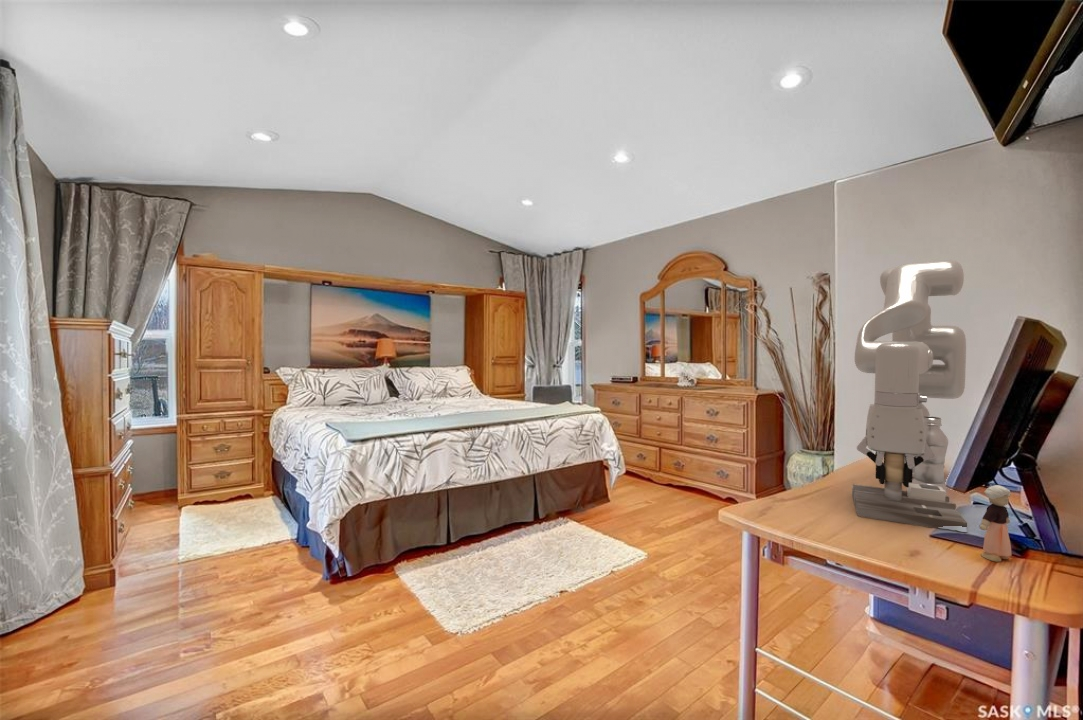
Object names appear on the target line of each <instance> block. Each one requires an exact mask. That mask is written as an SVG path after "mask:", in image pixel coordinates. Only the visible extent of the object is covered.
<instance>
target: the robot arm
mask: <svg viewBox="0 0 1083 720" xmlns="http://www.w3.org/2000/svg"><path fill="white" fill-rule="evenodd" d="M964 273H965V272H964V269H963V267H962V265H961V264H960V262H958V261H957V260H937V261H936V260H935V261H925V262H912V263H906V264H901V265H899V266H896V267H892V268H887V269H886V270H884V271H882V273H881V274H880V276H879V282H880V287H881V291H882V293H883V295H884V303H883V309H881V310H879V311H878V312H876V313H875V314H874V315H872V316H871V317H870V318H869V319H868V320H867V321H866V322H864V324H863V325H862V326H861V327H860V329H859V331H858V335H857V339H856V345H855V350H854V363H855V364H854V365H855V367H856V368H857V369H858V371H861V373H866V374H875V375H874V376H875V377H874V401H873V402H874V403H871V404H869V408H868V411H867V412H868V413H867V416H866V426H865V436H864V437H863V438H862V440H861V441H860V442H859V443H858V445H857V446H856V450H857V451H858V452H859V453H861V454H863V455H865V456H866V457H868V458H869V459H870V460H871V461H872V462H873V463H874V464H875V479H877V480H878V482H879V485H885V466H884V453H885V452H888V453H898V454H905V459H904V482H902V486H903V487H905V488H907V487H909V483H912V481H913V478H914V472H915V467H916V466H917V465H919V464H920V463H922V462H923V461H925V460H929V459H931V458H934V457H935V455H934V453H933V452H932V450H931V449H930V448H929V446H928V445H927V443H926V442H925V427H924V418H923V416H930V415H931V414H930V412H929V409H928V408H927V407H926V406H925V405H924V404H923V403H927V402H928V399H948V400H953V399H959V398H961V397H962V396H963V394H964V392H965V388H966V387H965V386H966V359H967V339H966V334H965V332H964V331H963V329H962V328H961V327H959V326H956V325H932V323H931V318H932V317H931V316H932V315H931V314H932V308H931V306H930V305H929V297H943V296H945V297H946V296H957V295H958V294H959V293H961V291H962V288H963V286H964V281H965V280H964V278H965V274H964ZM889 334H892V337H891V338H892V340H889V341H888V340H886V341H885V340H884V341H883V340H878V341H877V339H879V338H881V337H883V336H885V335H889ZM934 361H941V362H943V364H941V363H939V364H935V363H933V362H934ZM873 451H874V452H873ZM915 455H917V456H915Z"/></svg>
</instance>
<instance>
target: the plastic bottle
mask: <svg viewBox="0 0 1083 720" xmlns="http://www.w3.org/2000/svg"><path fill="white" fill-rule="evenodd" d="M923 418H924V427H925V442H926V443H927V445H928V446H929V448H930V449H931V450H932V452H933V453H934V455H935V457H934V458H931V459H929V460H925V461H923V462H922V463H920V464H919V465H917V466H916V467H915V472H914V477H913V478H912V483H914V484H922V485H931V486H939V487H942V488H943V489H944V490H945V492H946V493H947V487H945V486H946V483H945V482H946V481H945V461H946V454H947V452H948V446H949V439H948V437H947V435H946V433H945V432H944V431H943V430H942V429H941V427H942V417H937V416H923ZM915 456H917V455H915ZM945 496H947V494H946V495H945Z"/></svg>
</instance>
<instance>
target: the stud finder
mask: <svg viewBox="0 0 1083 720" xmlns="http://www.w3.org/2000/svg"><path fill="white" fill-rule="evenodd" d="M906 489H907V490H906V491H907V496H908V497H910V498H918V499H925V500H933V501H940V502H945V495H946V496H947V491H946V492H945V490H944V489H943V488H942V487H939V486H931V485H922V484H914V483H909V487H906Z"/></svg>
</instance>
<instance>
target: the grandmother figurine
mask: <svg viewBox="0 0 1083 720" xmlns="http://www.w3.org/2000/svg"><path fill="white" fill-rule="evenodd" d="M983 492H984V495H986V497H987V498H988V501H989V503H991V504H989V505H988V506H987V507H986V510H985V513H984V515H983V517H982V519H981V523H980V525H979V529H980V530H981V531H985V535H984V538H983V548H982V549H983V552H981V553H980V556H981V557H983V558H985V559H987V560H989V561H991V562H996V563H997V562H1000V563H1001V562H1002V560H1008V559H1009V557H1012V555H1013V554H1012V547H1011V546H1012V545H1011V540H1010V536H1009V535H1010V534H1009V529H1008V525H1009V524H1010V523H1011V521H1010V516H1009V511H1008V509H1007V505H1008V504H1009V501H1010V499H1009V497H1010V496H1011V491H1010V489H1008V488H1007V487H1005V486H1002V485H998V484H995V485H992V486H989V487H987V488H986V489H985V490H984V491H983Z"/></svg>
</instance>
